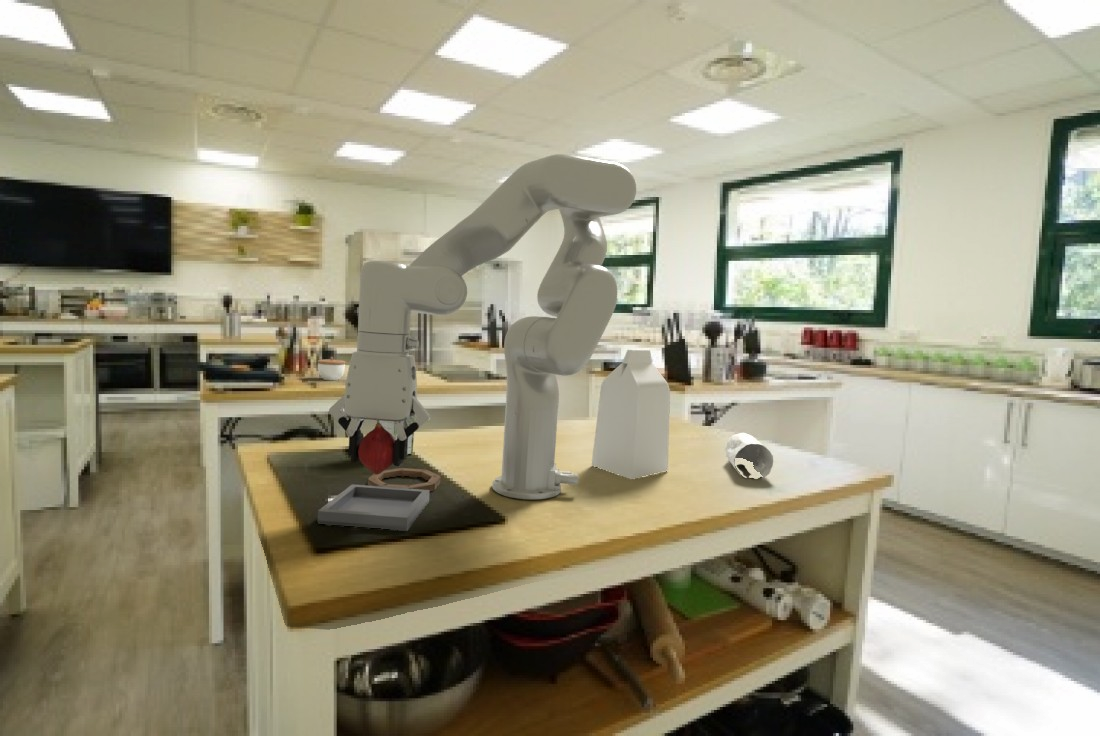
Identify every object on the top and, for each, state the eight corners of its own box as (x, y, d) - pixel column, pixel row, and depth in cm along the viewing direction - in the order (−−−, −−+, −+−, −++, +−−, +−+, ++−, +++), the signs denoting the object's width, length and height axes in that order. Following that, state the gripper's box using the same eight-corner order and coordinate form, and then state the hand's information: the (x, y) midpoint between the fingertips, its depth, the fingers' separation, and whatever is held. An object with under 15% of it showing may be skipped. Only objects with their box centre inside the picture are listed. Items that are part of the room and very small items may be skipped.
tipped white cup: (752, 461, 140) (755, 429, 139) (771, 482, 121) (775, 445, 120) (718, 458, 141) (721, 426, 140) (733, 478, 122) (736, 442, 121)
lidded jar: (312, 378, 234) (312, 355, 233) (336, 377, 242) (337, 355, 241) (325, 381, 227) (326, 358, 226) (350, 380, 235) (350, 357, 234)
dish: (429, 501, 95) (429, 490, 94) (407, 531, 82) (407, 517, 81) (351, 496, 95) (351, 484, 95) (317, 524, 82) (317, 511, 82)
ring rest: (444, 477, 109) (445, 471, 109) (429, 496, 97) (430, 490, 97) (382, 472, 109) (382, 466, 109) (360, 491, 97) (360, 484, 97)
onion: (404, 473, 89) (407, 423, 88) (378, 482, 84) (381, 428, 83) (375, 467, 91) (377, 418, 91) (348, 474, 86) (351, 422, 86)
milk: (631, 479, 116) (641, 352, 113) (591, 466, 124) (600, 347, 122) (667, 471, 124) (678, 352, 121) (627, 459, 132) (636, 347, 130)
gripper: (445, 348, 89) (438, 460, 91) (337, 339, 90) (332, 452, 91) (434, 350, 82) (427, 473, 83) (316, 341, 82) (311, 463, 84)
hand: (377, 461), depth 87 cm, fingers closed on onion, 5 cm apart
